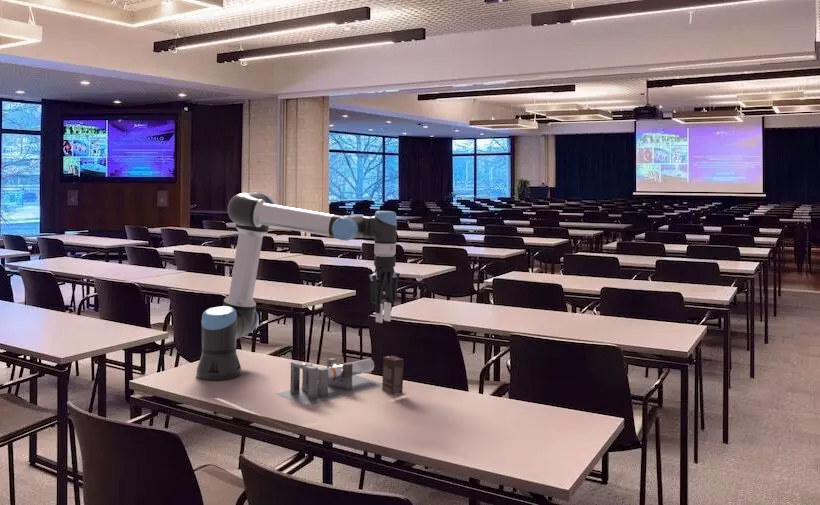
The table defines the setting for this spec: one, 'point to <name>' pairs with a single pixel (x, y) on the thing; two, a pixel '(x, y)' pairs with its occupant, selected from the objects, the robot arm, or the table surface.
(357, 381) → the board
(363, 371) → the tube
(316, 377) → the frame
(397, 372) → the box
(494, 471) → the table surface
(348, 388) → the grey tube support frame
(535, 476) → the table surface
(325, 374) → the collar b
